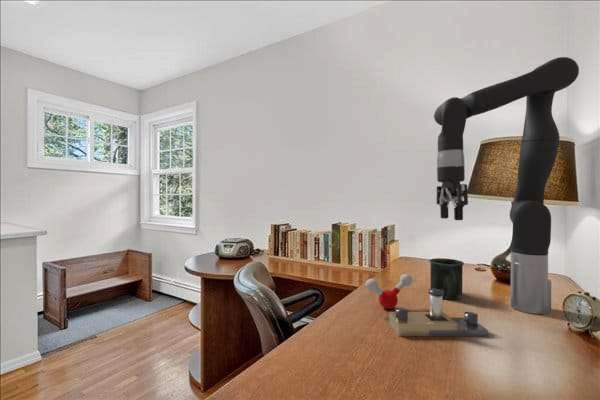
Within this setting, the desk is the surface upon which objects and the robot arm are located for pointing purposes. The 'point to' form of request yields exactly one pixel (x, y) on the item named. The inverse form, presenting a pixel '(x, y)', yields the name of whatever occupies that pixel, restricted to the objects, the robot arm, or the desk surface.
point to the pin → (436, 304)
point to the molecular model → (388, 291)
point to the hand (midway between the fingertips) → (451, 219)
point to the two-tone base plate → (434, 324)
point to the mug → (447, 277)
